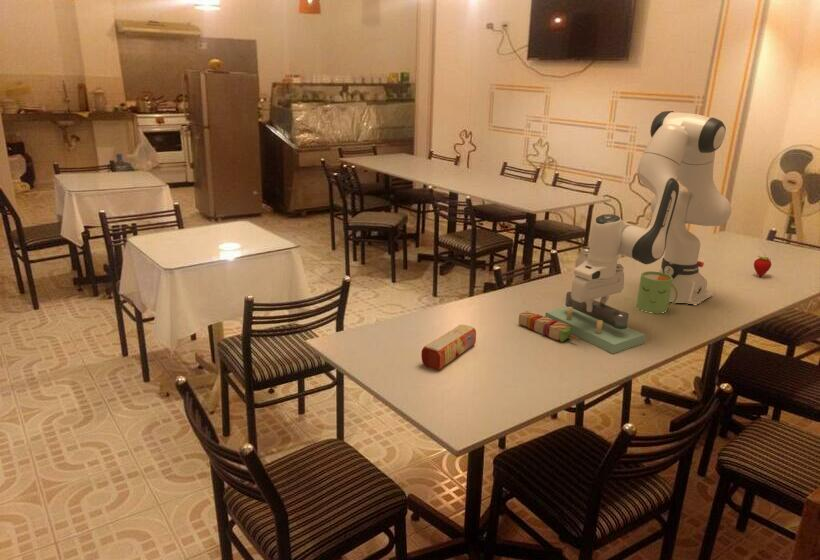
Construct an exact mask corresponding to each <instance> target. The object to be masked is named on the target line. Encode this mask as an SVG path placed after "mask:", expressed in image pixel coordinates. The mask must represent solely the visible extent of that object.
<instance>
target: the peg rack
mask: <svg viewBox="0 0 820 560" xmlns="http://www.w3.org/2000/svg"><path fill="white" fill-rule="evenodd" d="M545 317H548V318H550V319H552V320H558V321H559V322H562V323H565V324H567V325H570V327H571V326H572V328H573V329H572V335H574V336H576V337H578V339H581V340H583V341H585V342H587V343H590V344H591V345H594V346H596V347H598V348H600V349H602V350H604V351H605V352H608V353H611V354H612V355H614V354H617V353H621V352H622V351H623V352H624V351H626V350H629V349H631V347H632V348H634V346H635V347H637V345H638V346H641V345H643V343H644V344H645V339H646V338H645V337H646V334H645V333H642V332H640V331H638V330H636V329H633V328H631V327H629V326H627V328H626V329H617V328H614V327H613V326H611V325H609V324H607V323H605V322H603V321H602V320H598V319H595V318H593V317H591V316H589V315H586V314H584V313H582V312H580V311H577V310H575V309H573V307H567V306H565V307H560V308H556V309H552V310H548V311H546V312H545ZM640 344H641V345H640Z"/></svg>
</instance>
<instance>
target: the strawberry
mask: <svg viewBox="0 0 820 560" xmlns="http://www.w3.org/2000/svg"><path fill="white" fill-rule="evenodd" d="M763 254H764V257H763V256H760V255H757V257H758V258H757V259H755V260H754V262H753V268H754V270H755V272H756V274H757V276H758V275H759V276H762V277H763V276H764V275H765V274H766V273H767V272H768V271H769V270H770V269H771V267H772V262H771V258H769V256H768V257H767V256H766V255H765V253H763ZM759 276H758V277H759Z"/></svg>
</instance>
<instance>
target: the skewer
mask: <svg viewBox="0 0 820 560" xmlns="http://www.w3.org/2000/svg"><path fill="white" fill-rule="evenodd" d="M518 324H519V325H521V326H524V327H527V329H529V330H530V329H531V330H532V331H534V332H536V333H539V334H541V335H542V336H547V337H549V338H551V339H553V340H557V341H560V342H561V343H562V342H564V341H566V340H567V339H569V338H572V339H575V340H579V337H577V336H575V335H573V334H572V329H573V328H572V326H571V327H570V325H567V324H565V323H562V322H559V321H558V320H552V319H550V318H548V317H545V316H543V315H540V314H539V313H537V314H536V313H533V312H531V311H528V310H526V311H524V312H521V313H519V316H518Z"/></svg>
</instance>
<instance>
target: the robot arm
mask: <svg viewBox="0 0 820 560" xmlns="http://www.w3.org/2000/svg"><path fill="white" fill-rule="evenodd" d="M725 136H726V125H725V124H724V122H723V121H722V120H720V119H719V118H715V117H708V116H706V115H703V114H697V113H692V112H691V113H689V112H681V111H680V112H677V111H674V110H667V111H661V112H660V113H658V114H657V115H655V117H654V118H653V119H652V123H651V125H650V137H651V139H650V140H649V141H648V144H647V146H646V147H645V149H644V152H643V154H642V156H641V158H640V160H639V162H638V166H637V176H638V179H639V181H641V183H642V185H644V186H645V187H646V188H647V189H649V190H650V191H651V192H652V193H653V194H654V195H653V197H652V199H651V201H650V211H651V213H652V217H651V221H650V224H649V226H648V227H646V228H644V227H641V226H638V225H637V226H636V225H634V224H630V223H628V222H625V221H624V220H623V219H622V218H621V217H620V216H619V215H617V214H611V213H607V214H601V215H598V216H597V217H596V218H595V219H594V221H593V223H592V226H591V231H590V236H589V242H588V245H589V246H588V247H590V251H589V254H588V257H587V260H586V261H585V262H584V263H582V264H581V265H580V266H578V267H576V268H575V267H574V268H573V269H574V270H573V275H577V276H574V278H573V279H572V282H571V283H572V285H571V291H570V292H571V297H572V299H573V300H574V301H577V302H579V303H582V302H585V303H586V305H587V309H586V310H587V311H588V312H593V311H594V306H592V302H593V300H597V299H600V300H599V302H600V303H602V304H605V305H607V304H606V303H607V302H608V300H609V298H610V296H611V295H612V296H613V295H616V294H620V293H622V292H623V290H624V287H625V272H624V266H623V265H622V264H621V263H618V260H619V258H618V255H621V256H624V257H626V258H630V259H633V260H635V261H637V262H639V263H641V264H644V265H651V264H653V263H655V262H658V261H659V260H660V259H661V258H662V257H663V258H662V261H661V265H660V267H661V269H659V270H658V271H657V272H661V273H665V274H668V275H670V276H672V277H673V280H672V284H673V285H674V286H675V287H676V289H677V292H678V297H677V300H676V301H675V303H674V304H676V303H689V304H699V303H700V302H702V301H704V300H705V299H707V298H709V297H710V296H712V297H713V293H712V292H711V291H710V290H707V287H708V280H707V279H706V278H705V277H704V275H702V274H701V273H700V272H699V271H700V270H699V268H703V267H704V265H705V263H704V262H703V261H700V260H699V254H700V248H701V241H700V239H699V237H697V236H696V235H695V234H694V233H692V232H690V231H689V230H688V229H687V227H686V224H689V225H696V226H702V227H718V226H719V227H720V226H723V225H725V224H726V223H727V221H728V220H729V219H730V217H731V214H732V205H731V202H730V201H729V200H728V197H726V196H724V195H723V194H722V193H721V192H720V191H719V190H718V188H717V187H716V183H715V182H714V165H715V164H714V163H715V157H716V151H717V150H718V149H719V148H720V147H721V146H722V144H723V141H724V140H725ZM680 185H681V186H683V187H684V188H686V189H687V190H688V191H686V190H680ZM675 297H676V292H675V289H674V288H673V287H672V286H671V291H670V297H669V302H668V303H670V302H673V301H674V299H675ZM709 299H710V298H709ZM707 300H708V299H707ZM704 302H705V301H704ZM702 303H703V302H702ZM700 304H701V303H700ZM700 304H699V305H700Z"/></svg>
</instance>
